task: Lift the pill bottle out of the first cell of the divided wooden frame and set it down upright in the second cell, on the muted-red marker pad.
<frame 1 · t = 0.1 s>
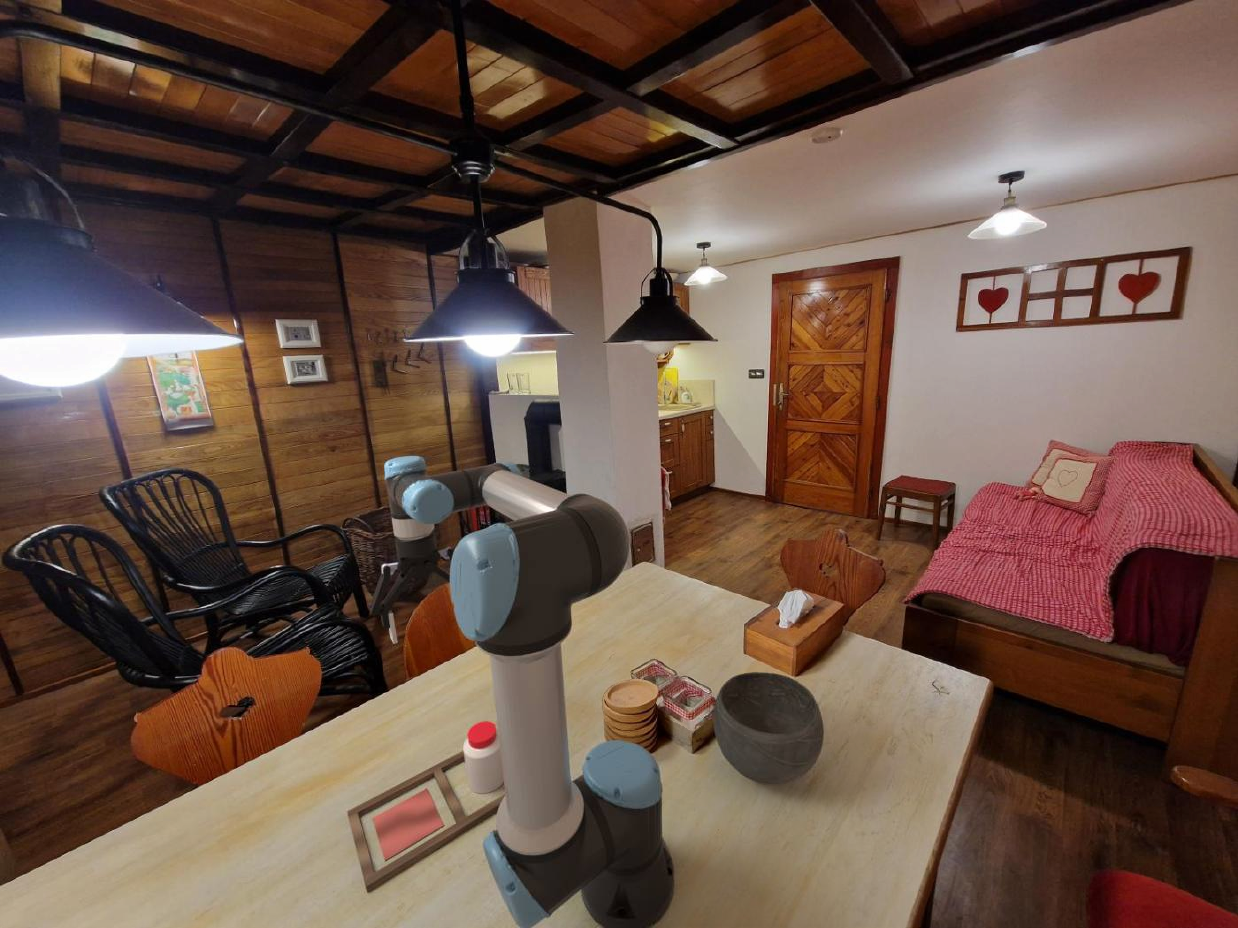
hand: (428, 628, 104), 28 cm above the table, fingers open, 13 cm apart
bowl: (765, 763, 101), on the table
pill bottle: (487, 777, 100), resting in divided wooden frame
divided wooden frame: (449, 798, 95), on the table
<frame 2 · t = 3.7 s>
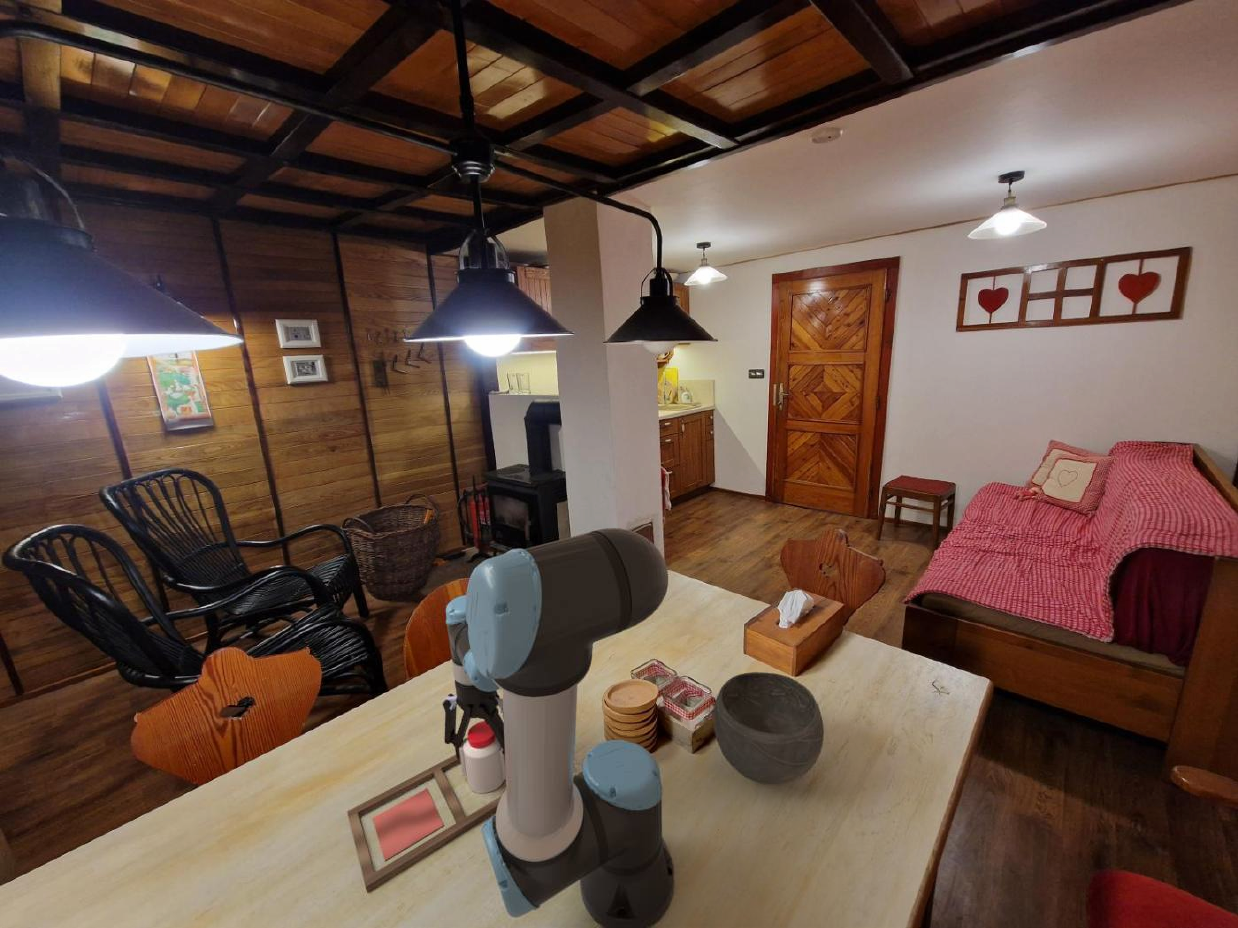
hand: (486, 771, 100), 1 cm above the table, fingers closed on pill bottle, 8 cm apart
pill bottle: (487, 777, 100), resting in divided wooden frame, touching gripper
everything else where it was.
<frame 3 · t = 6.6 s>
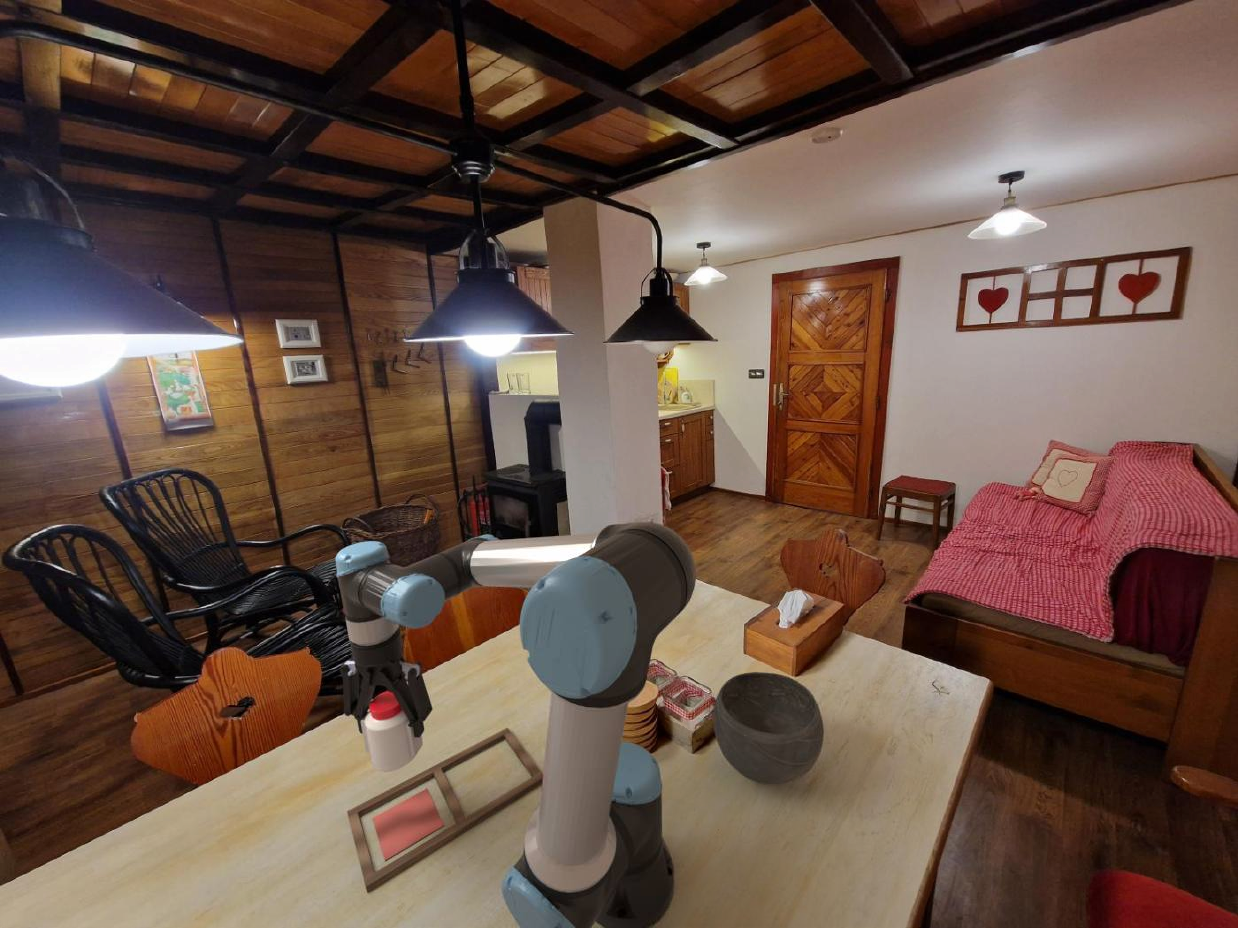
hand: (394, 748, 87), 16 cm above the table, fingers closed on pill bottle, 8 cm apart
pill bottle: (396, 754, 88), point 15 cm above the table, touching gripper
everything else where it was.
when the fingers open (3 cm above the table, at t = 9.7 s): pill bottle drops 1 cm, resting on divided wooden frame.
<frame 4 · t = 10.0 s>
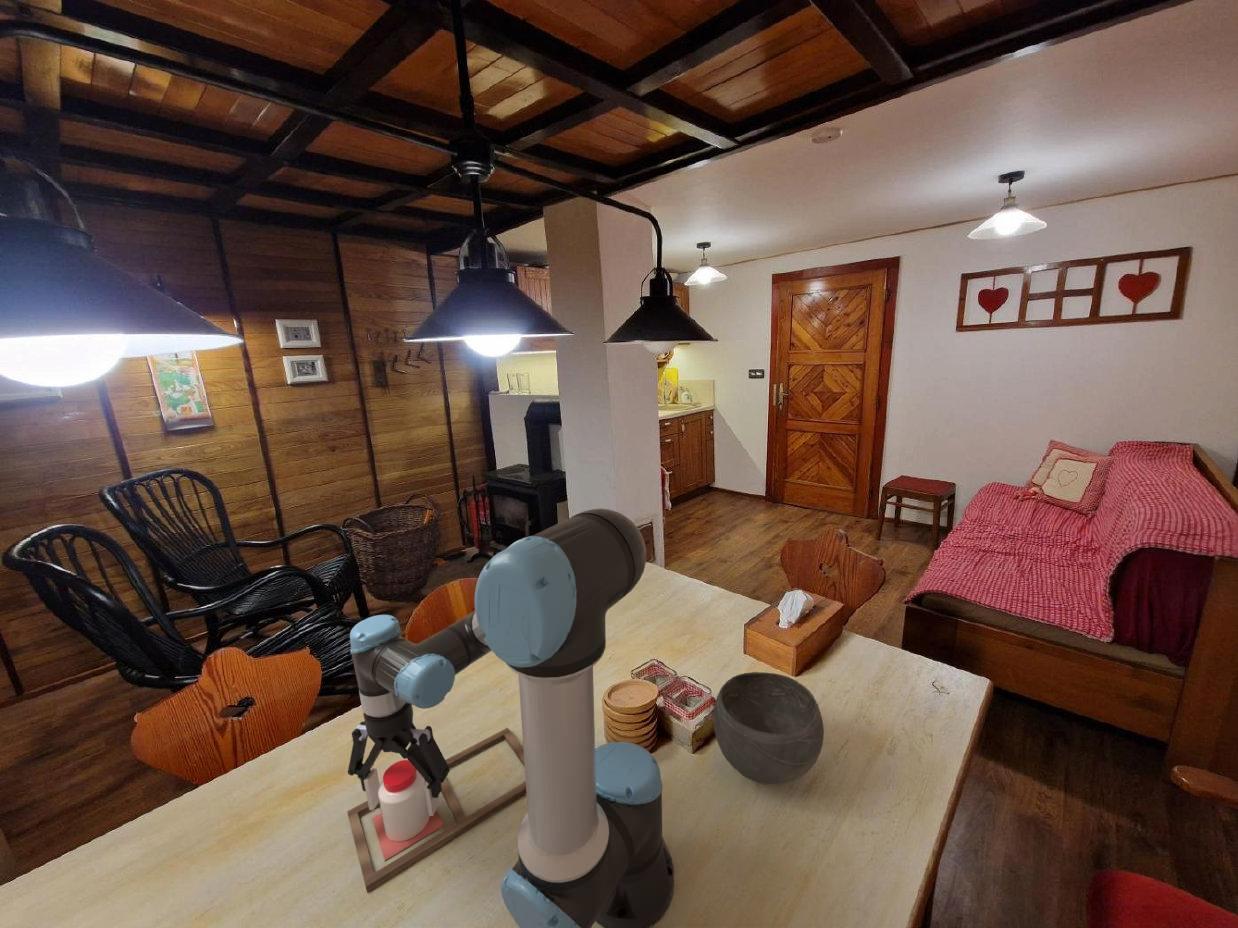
hand: (404, 806, 90), 4 cm above the table, fingers open, 11 cm apart
pill bottle: (408, 822, 91), resting on divided wooden frame
everything else where it was.
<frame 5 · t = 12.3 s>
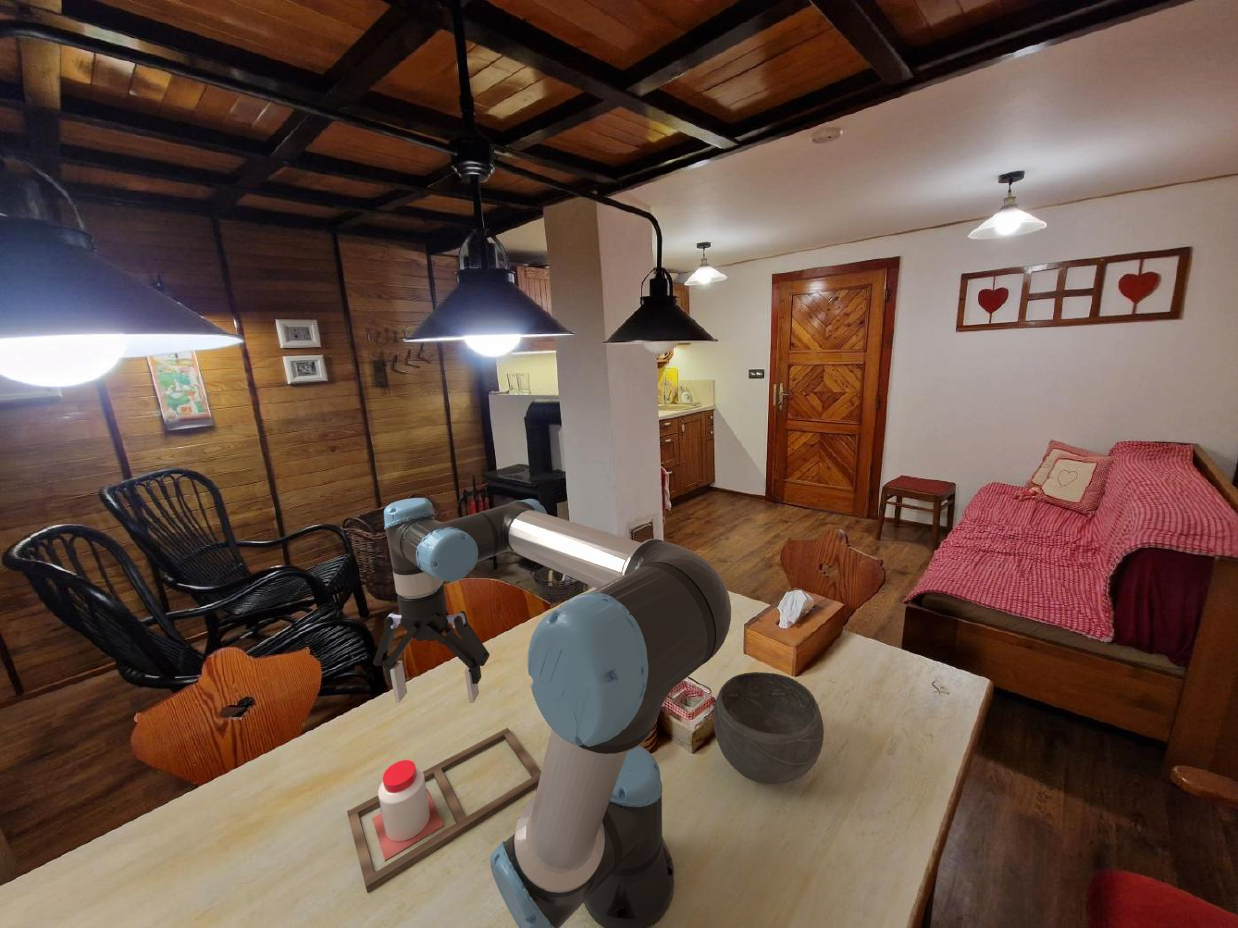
hand: (437, 697, 88), 24 cm above the table, fingers open, 13 cm apart
nothing on the table moved.
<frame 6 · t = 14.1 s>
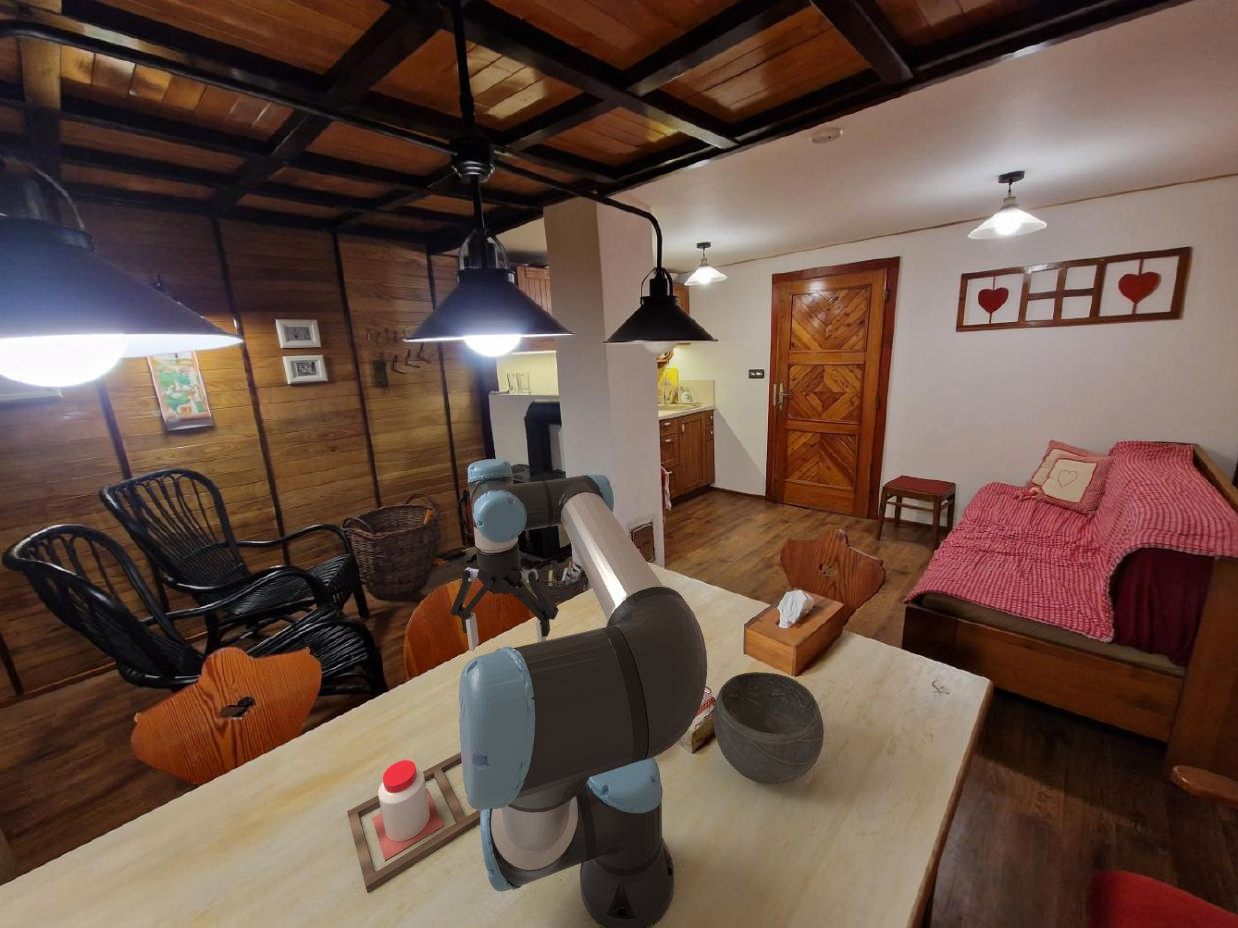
hand: (508, 648, 94), 29 cm above the table, fingers open, 13 cm apart
nothing on the table moved.
at the end: pill bottle inside the target area on the divided wooden frame (0.0 cm from its centre), point 0.0 cm above the divided wooden frame's base; pill bottle tilted 0°; the gripper is holding nothing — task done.
